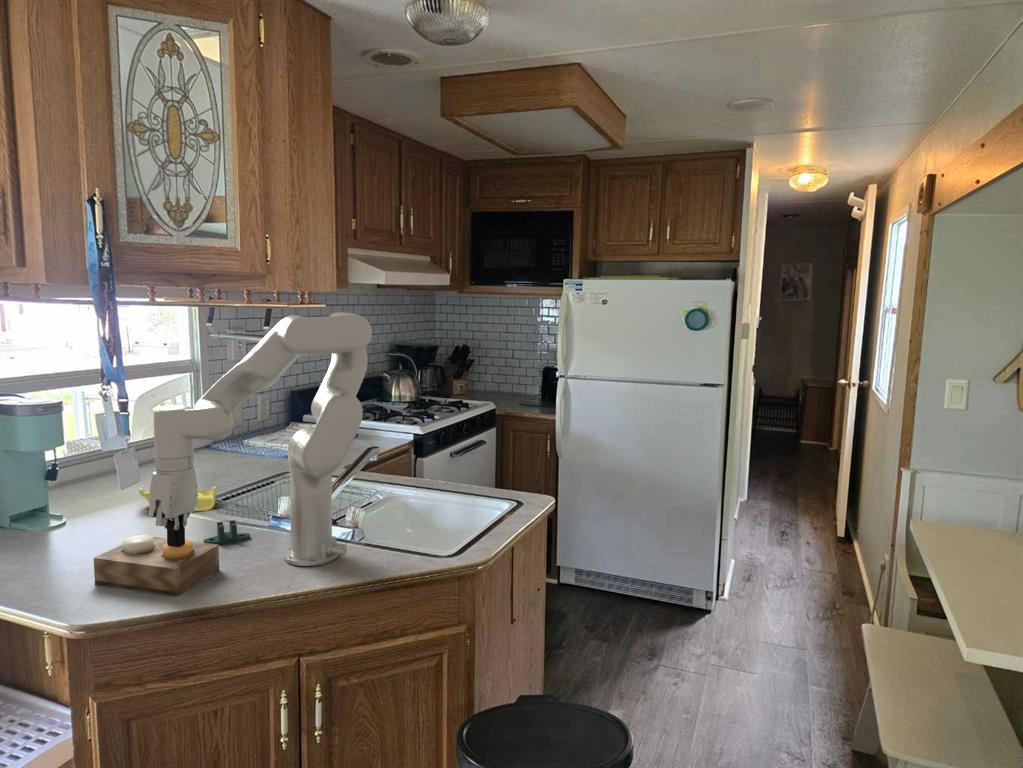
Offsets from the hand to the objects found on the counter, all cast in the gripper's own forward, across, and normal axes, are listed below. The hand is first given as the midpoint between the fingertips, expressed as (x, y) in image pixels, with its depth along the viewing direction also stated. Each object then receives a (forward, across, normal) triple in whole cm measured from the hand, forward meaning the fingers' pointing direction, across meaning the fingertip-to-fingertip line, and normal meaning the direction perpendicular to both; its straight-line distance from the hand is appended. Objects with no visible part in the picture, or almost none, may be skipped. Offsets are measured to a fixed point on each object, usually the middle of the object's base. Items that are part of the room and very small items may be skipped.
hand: (176, 545), depth 146 cm
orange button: (+6, 0, 0) cm, 6 cm away
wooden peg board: (+8, 0, -5) cm, 9 cm away
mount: (+8, -23, -4) cm, 25 cm away
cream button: (+6, 0, -10) cm, 11 cm away
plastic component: (+8, -42, -33) cm, 54 cm away
